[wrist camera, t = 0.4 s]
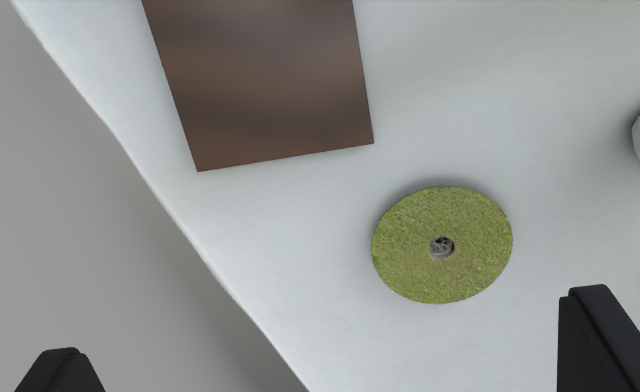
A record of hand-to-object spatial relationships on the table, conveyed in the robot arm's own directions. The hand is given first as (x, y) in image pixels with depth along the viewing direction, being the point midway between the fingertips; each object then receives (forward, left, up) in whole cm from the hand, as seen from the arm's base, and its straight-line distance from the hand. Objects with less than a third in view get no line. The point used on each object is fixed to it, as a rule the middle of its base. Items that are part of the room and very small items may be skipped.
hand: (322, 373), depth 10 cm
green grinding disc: (+17, +5, -31) cm, 35 cm away
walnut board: (-3, -6, -31) cm, 31 cm away
